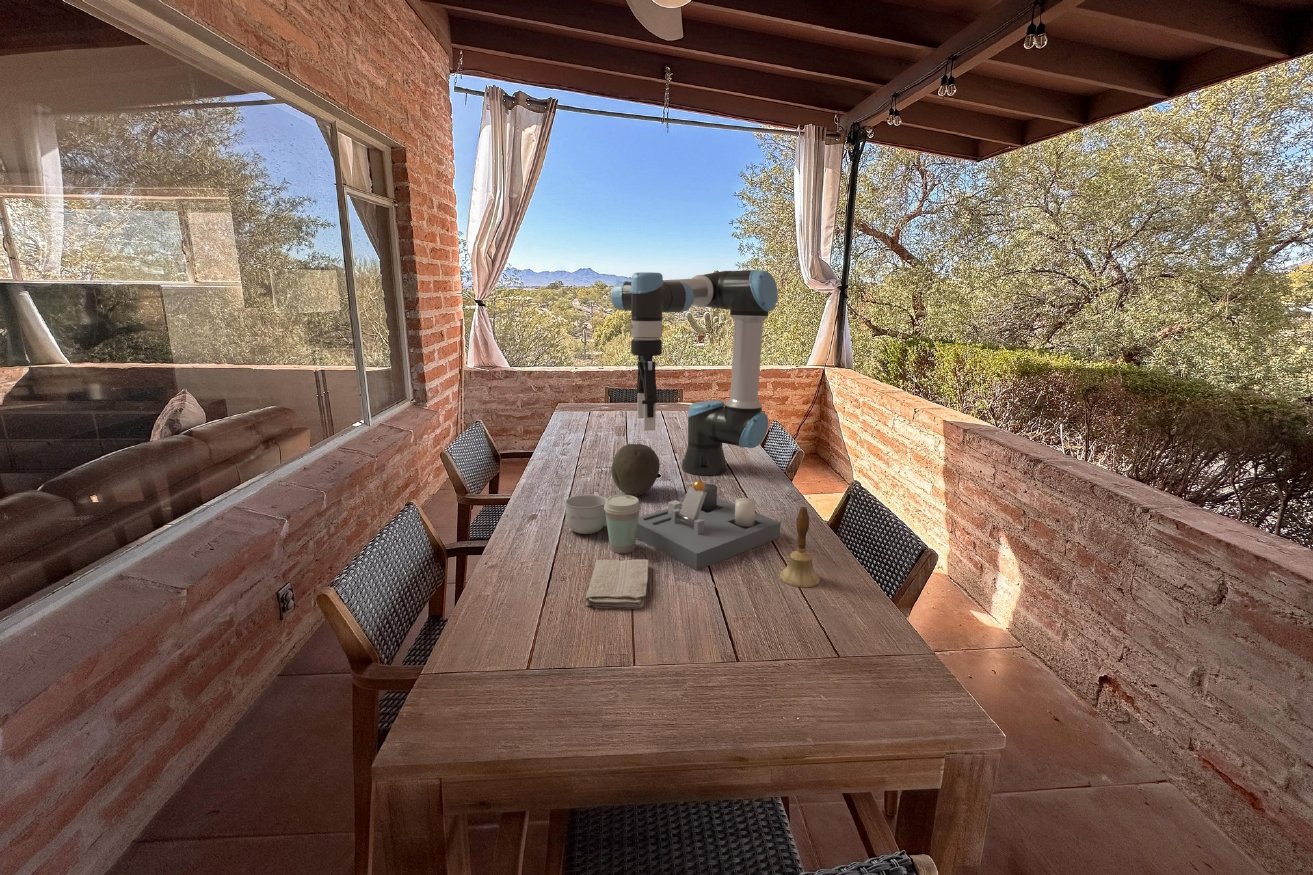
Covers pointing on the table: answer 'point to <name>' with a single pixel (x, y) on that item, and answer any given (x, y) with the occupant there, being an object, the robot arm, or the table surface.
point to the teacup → (585, 513)
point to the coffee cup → (622, 522)
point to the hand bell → (800, 558)
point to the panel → (705, 534)
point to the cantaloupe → (635, 469)
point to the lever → (692, 503)
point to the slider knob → (674, 506)
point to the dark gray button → (710, 497)
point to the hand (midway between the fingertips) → (646, 424)
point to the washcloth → (618, 584)
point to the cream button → (744, 512)
